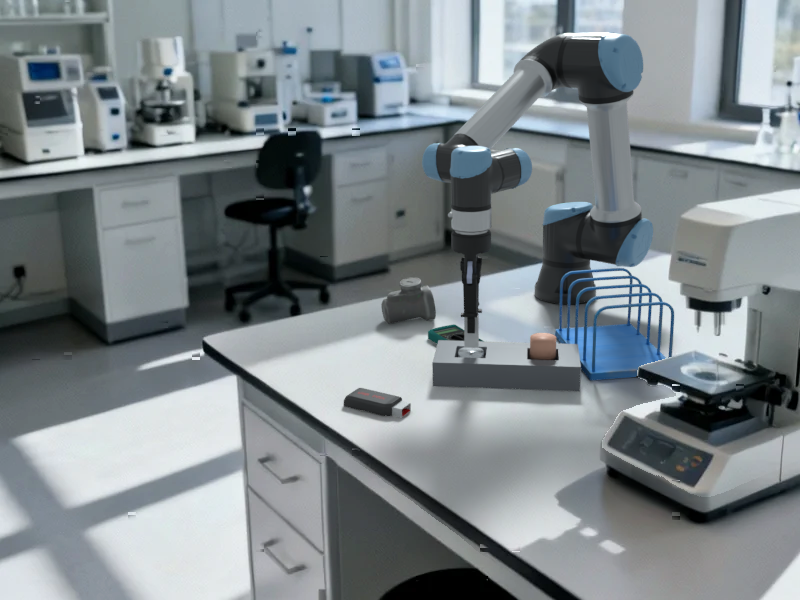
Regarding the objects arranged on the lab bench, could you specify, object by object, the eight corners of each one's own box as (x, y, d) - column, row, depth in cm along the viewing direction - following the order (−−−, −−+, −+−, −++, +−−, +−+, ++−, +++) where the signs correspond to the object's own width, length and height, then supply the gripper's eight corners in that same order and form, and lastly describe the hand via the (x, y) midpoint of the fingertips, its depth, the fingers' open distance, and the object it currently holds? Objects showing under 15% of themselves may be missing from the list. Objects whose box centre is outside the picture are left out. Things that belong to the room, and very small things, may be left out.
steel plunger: (484, 365, 185) (484, 347, 184) (482, 375, 180) (483, 356, 179) (459, 364, 186) (459, 346, 184) (457, 374, 181) (457, 355, 180)
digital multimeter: (461, 362, 191) (461, 349, 190) (426, 340, 204) (426, 328, 203) (491, 356, 194) (491, 342, 193) (455, 334, 207) (455, 322, 206)
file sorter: (554, 336, 203) (556, 270, 199) (630, 332, 205) (634, 265, 200) (590, 381, 180) (593, 307, 175) (675, 375, 182) (681, 301, 177)
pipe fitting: (431, 310, 220) (426, 271, 216) (439, 324, 213) (434, 283, 209) (381, 320, 218) (376, 280, 214) (388, 334, 211) (382, 293, 207)
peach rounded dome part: (555, 352, 182) (556, 333, 181) (556, 361, 177) (556, 342, 176) (529, 351, 183) (530, 332, 182) (529, 360, 178) (530, 341, 177)
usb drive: (359, 397, 175) (358, 384, 175) (413, 410, 169) (413, 397, 169) (343, 408, 171) (342, 394, 170) (398, 421, 165) (398, 407, 164)
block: (576, 367, 186) (577, 344, 185) (579, 391, 175) (580, 367, 173) (438, 362, 190) (438, 340, 188) (432, 386, 179) (432, 362, 177)
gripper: (454, 221, 181) (455, 334, 188) (448, 238, 168) (449, 358, 176) (492, 221, 180) (492, 334, 187) (489, 238, 167) (489, 359, 175)
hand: (471, 346), depth 182 cm, fingers closed
